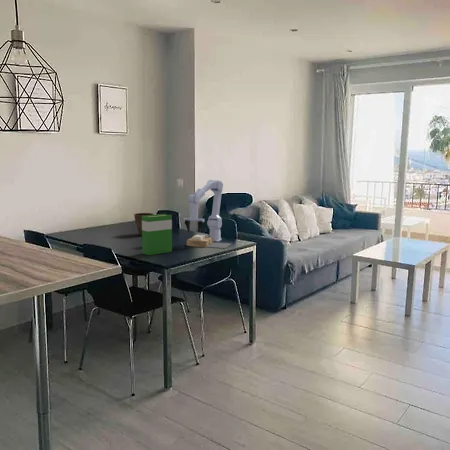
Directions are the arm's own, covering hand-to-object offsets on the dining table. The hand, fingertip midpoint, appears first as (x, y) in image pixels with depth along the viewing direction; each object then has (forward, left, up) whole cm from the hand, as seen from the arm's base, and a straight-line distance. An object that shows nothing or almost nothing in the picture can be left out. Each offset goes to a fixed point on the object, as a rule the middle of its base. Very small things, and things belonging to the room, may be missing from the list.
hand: (193, 231), depth 326 cm
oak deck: (-5, +3, -10) cm, 11 cm away
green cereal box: (+29, -14, -10) cm, 34 cm away
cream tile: (-5, +2, -5) cm, 7 cm away
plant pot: (-27, -51, -10) cm, 59 cm away
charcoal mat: (-5, +17, -10) cm, 20 cm away
